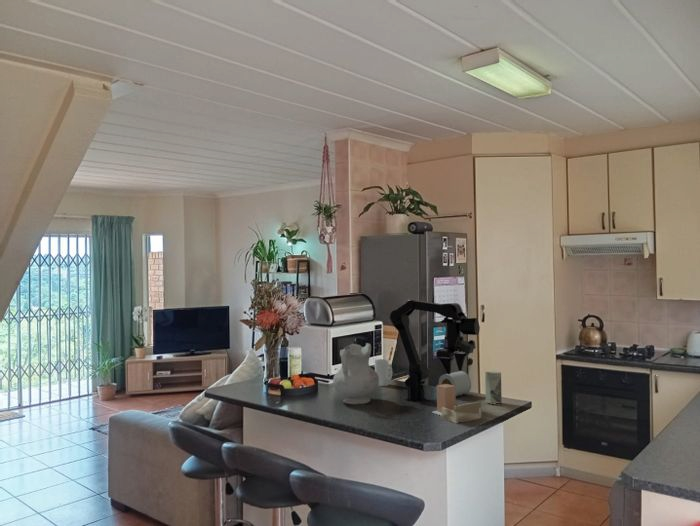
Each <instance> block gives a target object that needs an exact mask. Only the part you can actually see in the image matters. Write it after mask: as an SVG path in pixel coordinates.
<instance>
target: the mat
mask: <svg viewBox="0 0 700 526" xmlns="http://www.w3.org/2000/svg"><path fill="white" fill-rule="evenodd" d="M431 413H432V414H433V413H434V415H436V414H437V415H436V416H439V415H440V416H439V417H442V413H440V412H437V410H434V411H432V412H431Z"/></svg>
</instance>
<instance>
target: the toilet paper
mask: <svg viewBox="0 0 700 526" xmlns="http://www.w3.org/2000/svg"><path fill="white" fill-rule="evenodd" d="M443 384H449V385H453V386H455V396H456V397H458V395H459V396H463V394H464V395H467V394H468V393H470V391H471V390H472V379H471V378H470V376H469V374H468V373H466V372H465V371H455V372H451V373H450V374H447V373H445V374H444V373H443V374H442V375H440V376H439V378H438V384H437V385H443Z"/></svg>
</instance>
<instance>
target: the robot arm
mask: <svg viewBox="0 0 700 526" xmlns="http://www.w3.org/2000/svg"><path fill="white" fill-rule="evenodd" d="M415 310H416V311H422V312H429V313H436V314H438V315H440V316H442V317H444V318H443V319H442V320H441V321H440V323H441V324H445V329H446V330H445V331H446V332H445V334H446V336H444V340H446V346H445V347H444V348H441V349H438V350H437V351H436V355H435V356H436V358H437V359H438V360H439V361H440V362H441V364H442V366H443V368H444V370H445V371H446V374H450V373H452V361H453V360H454V359H455V362H456V366H457V369H458V372H460V371H462V370H463V367H464V363H465V360H466V358H467V357H468V356H469V355H470V354H473V352H474V350H475V349H476V348H477V347H476V342H475V340H473V339H469V341H468V340H464V337H463V336H462V335H461V333H462V334H463V335H465V336H467V335H469V336H478V335H479V333H480V330H481V329H480V328H481V325H480V323H479V321H478V318H477V317H467V316H466V314H465V313H464V311H463V310H462V306H461V304H459V303H456V302H452V303H451V302H448V303H438V302H437V303H436V302H430V301H424V300H423V301H422V300H417V299H408V300H407V301H406V302H405V303H404V304H402V305H401V306H399V307H398V308H397V309H393V310H392V311H391V312H390V314H389V319H390V321H391V324H392V326H393V327H394V328H395V329H396V331H398V334H399V337H400V340H401V343H402V346H403V348H404V351H405V354H406V358H407V361H408V373H409V374H408V375H409V376H408V378H406V379H405V380H404V385H405V387H406V388H407V392H406V393H407V397H406V398H405V400H406V401H410V400H412V402H417V401H419V402H421V401H424V400H426V399H427V397H426V396H425V394H426V393H425V389H424V388H425V387H424V385H425V383H426V381H427V379H428V378H429V376H430V375H429V374H430V373H429V372H430V370H429V369H428V368H429V367H428V365H427V362H426V361H425V362H422V360H421V359H420V357H419V354H418V351H417V347H416V345H415V342H414V339H413V336H412V333H411V331H410V315H412V314H413V313H414V311H415ZM423 399H424V400H423ZM420 400H421V401H420Z"/></svg>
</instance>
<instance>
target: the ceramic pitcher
mask: <svg viewBox="0 0 700 526" xmlns="http://www.w3.org/2000/svg"><path fill="white" fill-rule="evenodd" d="M371 354H372V345H371V343H370V342H369V343H368V342H365V346H361V344H356V343H351V344H349V345H346V346H345V347H344V348H343V349H340V350H339V356H340V359H341V367H340V369H339V370H337V372H336V373H335V374H334V375H333V378H332V379H333V380H332V382H333V387H334V389H335V390H336V392H337V394H338V395H340V396H342V397H343V398H344V399H343V402H344V403H345V404H347V403H348V405H349V404H350V405H361V404H363V405H364V404H368V403H369V402H371V400H372V399H371V398H370V396H372V395H373V394H375V393H376V391H378V390H377V389H378V387H379V386H378V385H379V377H378V374H377V372H376V371H375V369H373V368H372V367H371V366H370V363H369V362H370V357H371Z"/></svg>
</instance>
